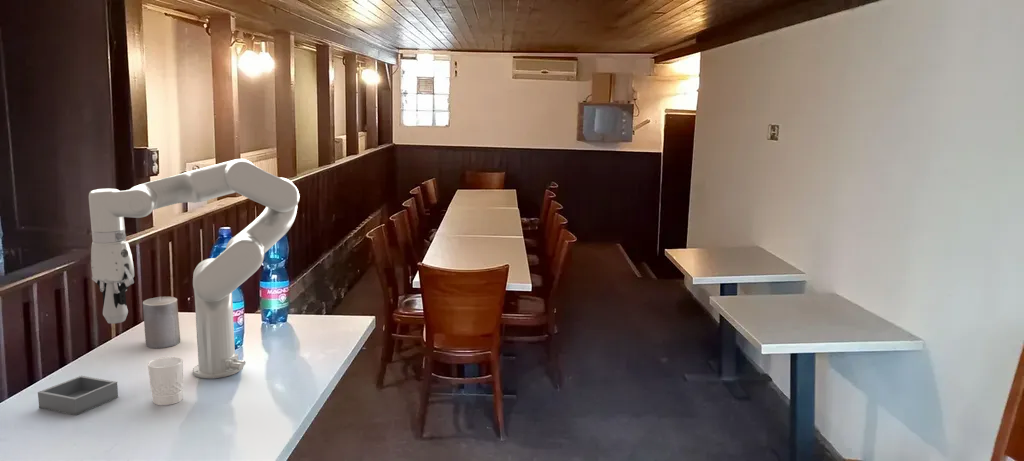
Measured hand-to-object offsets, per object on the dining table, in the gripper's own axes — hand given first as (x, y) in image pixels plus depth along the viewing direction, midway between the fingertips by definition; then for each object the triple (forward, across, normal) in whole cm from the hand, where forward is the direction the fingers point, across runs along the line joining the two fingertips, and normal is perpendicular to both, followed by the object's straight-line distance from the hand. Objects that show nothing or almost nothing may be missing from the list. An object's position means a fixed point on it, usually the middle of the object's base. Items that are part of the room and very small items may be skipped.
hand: (115, 305), depth 194 cm
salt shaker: (+4, 0, 0) cm, 4 cm away
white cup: (+21, -21, +5) cm, 30 cm away
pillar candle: (+21, +14, -29) cm, 39 cm away
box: (+21, -2, +14) cm, 25 cm away
